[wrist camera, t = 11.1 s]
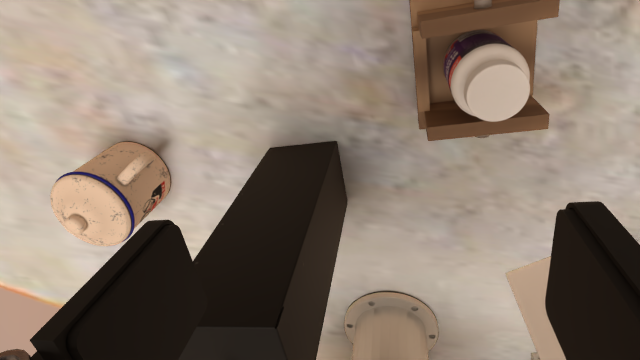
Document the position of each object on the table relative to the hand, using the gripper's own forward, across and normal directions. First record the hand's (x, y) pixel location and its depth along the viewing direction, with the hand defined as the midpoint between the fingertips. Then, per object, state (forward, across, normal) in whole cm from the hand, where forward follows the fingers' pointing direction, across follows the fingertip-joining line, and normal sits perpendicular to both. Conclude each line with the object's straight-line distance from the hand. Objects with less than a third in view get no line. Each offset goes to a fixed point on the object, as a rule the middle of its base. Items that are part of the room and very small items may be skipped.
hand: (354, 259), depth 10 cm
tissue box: (+31, +10, +13) cm, 35 cm away
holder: (+30, -8, +2) cm, 31 cm away
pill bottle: (+29, -8, +2) cm, 30 cm away
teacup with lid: (+31, +30, +10) cm, 44 cm away
